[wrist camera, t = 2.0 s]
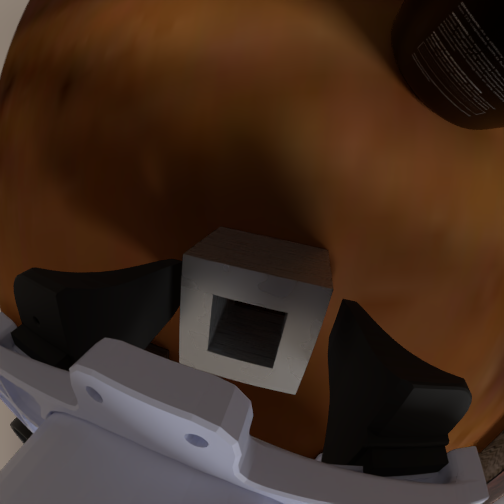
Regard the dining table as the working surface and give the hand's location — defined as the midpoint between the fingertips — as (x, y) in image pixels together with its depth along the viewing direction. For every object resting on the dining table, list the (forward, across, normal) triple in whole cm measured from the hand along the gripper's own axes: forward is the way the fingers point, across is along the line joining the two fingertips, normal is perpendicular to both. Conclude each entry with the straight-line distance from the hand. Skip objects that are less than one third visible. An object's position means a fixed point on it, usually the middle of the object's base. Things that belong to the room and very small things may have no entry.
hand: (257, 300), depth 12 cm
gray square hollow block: (+2, 0, 0) cm, 2 cm away
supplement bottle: (+2, -7, -13) cm, 15 cm away
